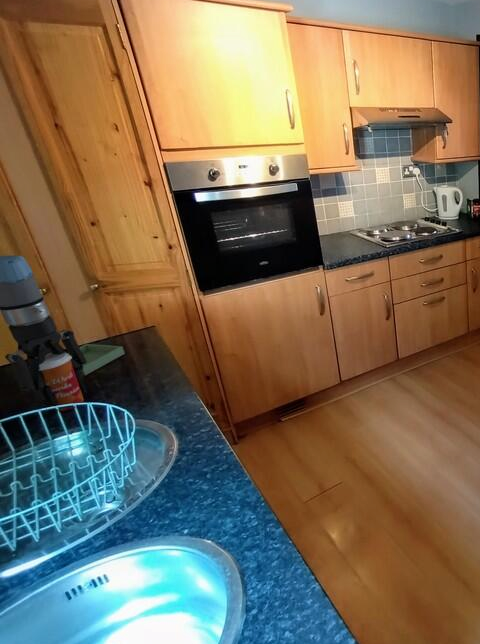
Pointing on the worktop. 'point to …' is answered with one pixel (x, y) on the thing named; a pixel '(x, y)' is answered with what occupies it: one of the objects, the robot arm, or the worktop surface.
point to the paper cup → (61, 379)
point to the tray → (99, 356)
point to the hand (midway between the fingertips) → (67, 399)
